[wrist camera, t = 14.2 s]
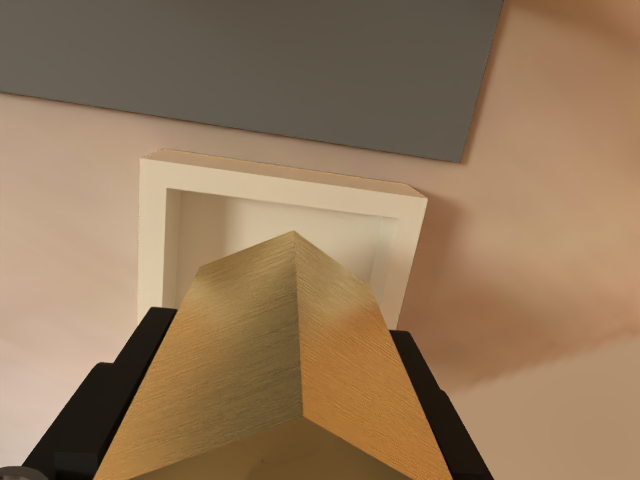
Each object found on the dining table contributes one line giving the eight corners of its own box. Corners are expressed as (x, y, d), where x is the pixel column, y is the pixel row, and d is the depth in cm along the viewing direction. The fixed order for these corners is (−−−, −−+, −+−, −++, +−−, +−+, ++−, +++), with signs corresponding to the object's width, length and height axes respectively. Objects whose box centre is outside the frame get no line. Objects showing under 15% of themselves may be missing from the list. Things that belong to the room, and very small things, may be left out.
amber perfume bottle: (192, 388, 11) (93, 695, 5) (203, 218, 9) (78, 405, 4) (343, 399, 12) (397, 689, 6) (379, 241, 10) (499, 433, 4)
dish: (156, 362, 15) (136, 404, 13) (163, 148, 13) (140, 158, 10) (361, 378, 16) (373, 419, 14) (406, 184, 14) (428, 198, 12)
